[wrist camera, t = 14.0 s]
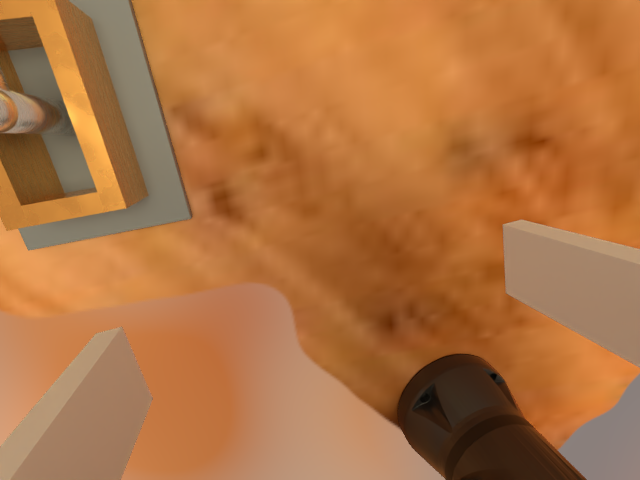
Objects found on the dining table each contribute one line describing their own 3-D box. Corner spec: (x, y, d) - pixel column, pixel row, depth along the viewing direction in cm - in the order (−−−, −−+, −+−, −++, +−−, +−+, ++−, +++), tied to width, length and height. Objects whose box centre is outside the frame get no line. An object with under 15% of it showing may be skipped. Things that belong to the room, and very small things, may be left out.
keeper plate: (192, 216, 33) (190, 218, 32) (34, 247, 31) (28, 250, 30) (122, -28, 26) (118, -35, 26) (-81, -11, 24) (-94, -17, 23)
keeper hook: (91, 132, 28) (11, 128, 19) (59, 137, 28) (-40, 135, 18) (68, 66, 27) (-33, 24, 17) (33, 70, 26) (-90, 30, 17)
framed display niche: (148, 195, 30) (126, 208, 25) (52, 213, 29) (6, 230, 24) (91, 18, 26) (49, -15, 20) (-24, 30, 25) (-103, -1, 19)
